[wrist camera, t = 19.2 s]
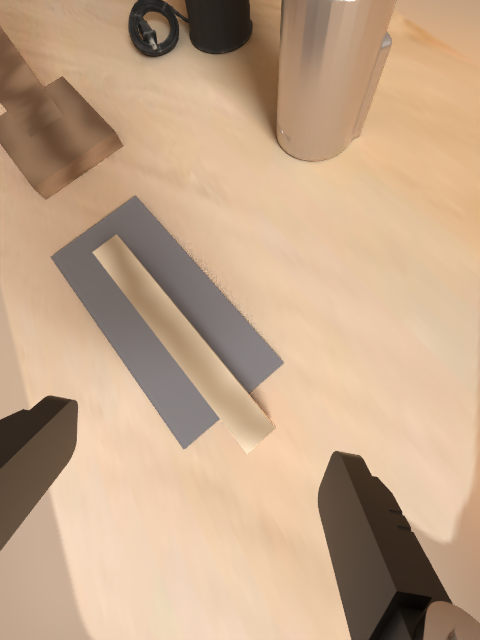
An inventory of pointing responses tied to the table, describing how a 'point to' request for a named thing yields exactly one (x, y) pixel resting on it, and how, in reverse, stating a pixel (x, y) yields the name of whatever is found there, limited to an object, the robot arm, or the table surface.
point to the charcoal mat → (138, 338)
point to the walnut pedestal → (48, 126)
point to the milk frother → (194, 25)
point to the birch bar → (186, 346)
